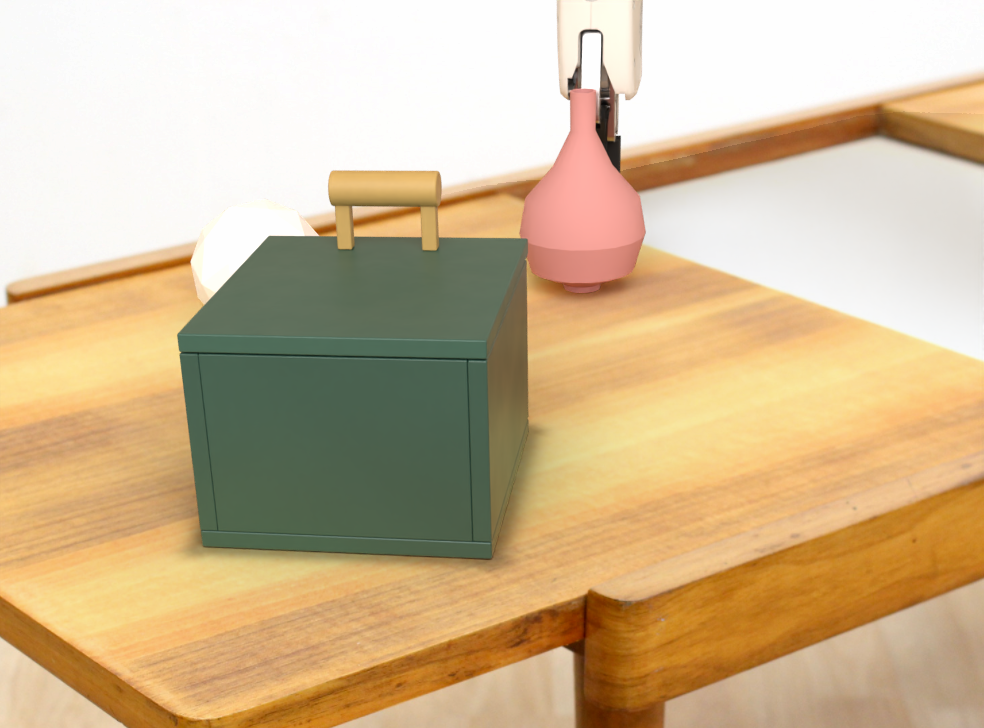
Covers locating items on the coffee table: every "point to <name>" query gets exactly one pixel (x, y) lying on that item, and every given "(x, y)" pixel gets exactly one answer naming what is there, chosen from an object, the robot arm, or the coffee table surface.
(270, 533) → the bin
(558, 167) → the pink vase
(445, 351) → the bread bin lid
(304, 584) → the coffee table surface
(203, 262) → the geometric ball
